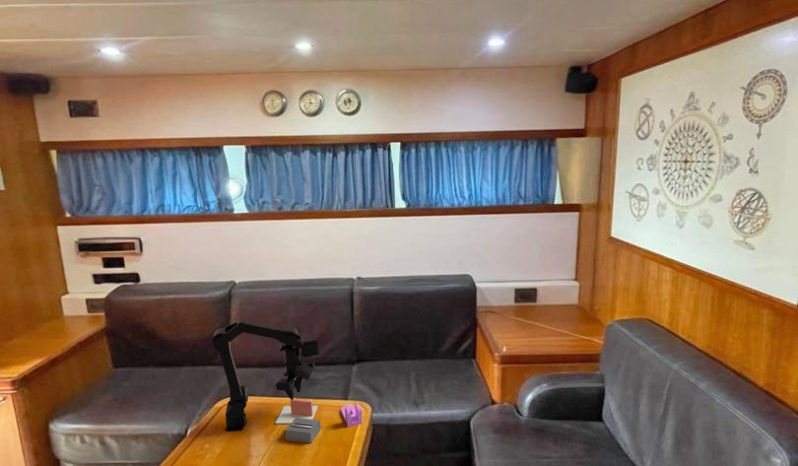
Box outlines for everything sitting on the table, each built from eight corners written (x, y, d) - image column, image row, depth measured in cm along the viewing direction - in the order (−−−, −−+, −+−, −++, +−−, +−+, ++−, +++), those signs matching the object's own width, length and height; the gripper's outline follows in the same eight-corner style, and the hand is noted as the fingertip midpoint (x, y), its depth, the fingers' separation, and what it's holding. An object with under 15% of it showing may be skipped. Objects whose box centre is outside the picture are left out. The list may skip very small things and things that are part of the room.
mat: (275, 424, 174) (275, 422, 173) (284, 407, 185) (284, 406, 185) (310, 423, 173) (310, 422, 173) (317, 406, 185) (317, 405, 185)
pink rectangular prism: (290, 400, 178) (310, 402, 176) (291, 399, 179) (311, 401, 177) (291, 414, 179) (312, 416, 177) (292, 412, 180) (312, 415, 178)
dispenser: (286, 439, 163) (285, 428, 163) (296, 427, 171) (295, 415, 170) (311, 443, 161) (310, 431, 160) (320, 430, 169) (319, 418, 168)
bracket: (362, 423, 172) (361, 407, 171) (348, 427, 170) (347, 410, 169) (353, 407, 184) (352, 391, 183) (339, 410, 182) (338, 394, 181)
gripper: (300, 371, 164) (303, 410, 167) (321, 350, 182) (323, 386, 185) (273, 369, 167) (276, 407, 170) (296, 348, 185) (299, 383, 187)
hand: (295, 395), depth 178 cm, fingers open, 5 cm apart
